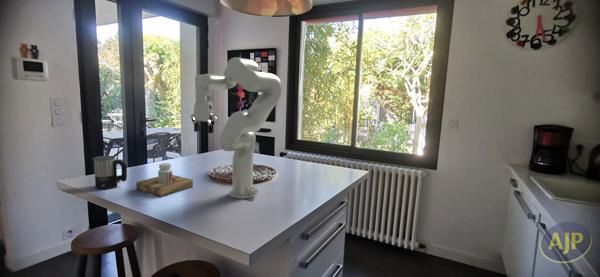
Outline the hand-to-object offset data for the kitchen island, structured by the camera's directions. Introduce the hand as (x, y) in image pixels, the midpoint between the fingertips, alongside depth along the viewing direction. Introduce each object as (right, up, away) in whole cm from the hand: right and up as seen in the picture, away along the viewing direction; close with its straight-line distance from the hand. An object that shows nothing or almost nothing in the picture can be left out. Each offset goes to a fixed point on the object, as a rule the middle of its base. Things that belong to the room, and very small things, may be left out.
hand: (203, 132), depth 153 cm
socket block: (-16, -28, -9) cm, 33 cm away
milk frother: (-44, -27, -6) cm, 52 cm away
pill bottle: (-16, -27, -9) cm, 33 cm away
